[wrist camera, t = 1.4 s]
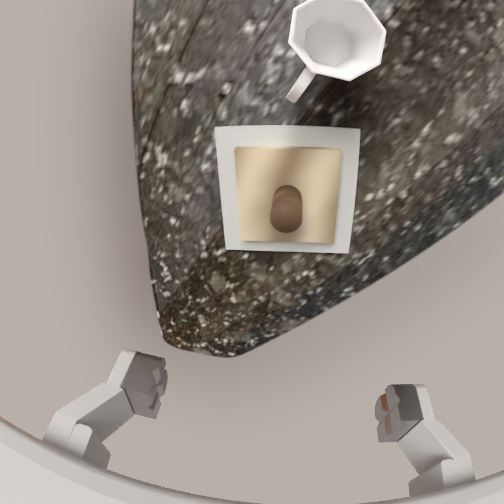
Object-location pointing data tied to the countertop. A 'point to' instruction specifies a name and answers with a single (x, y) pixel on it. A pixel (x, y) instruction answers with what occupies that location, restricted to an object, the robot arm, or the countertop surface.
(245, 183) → the lid
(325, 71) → the cup
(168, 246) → the countertop surface
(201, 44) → the countertop surface
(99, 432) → the robot arm
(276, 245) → the mat
